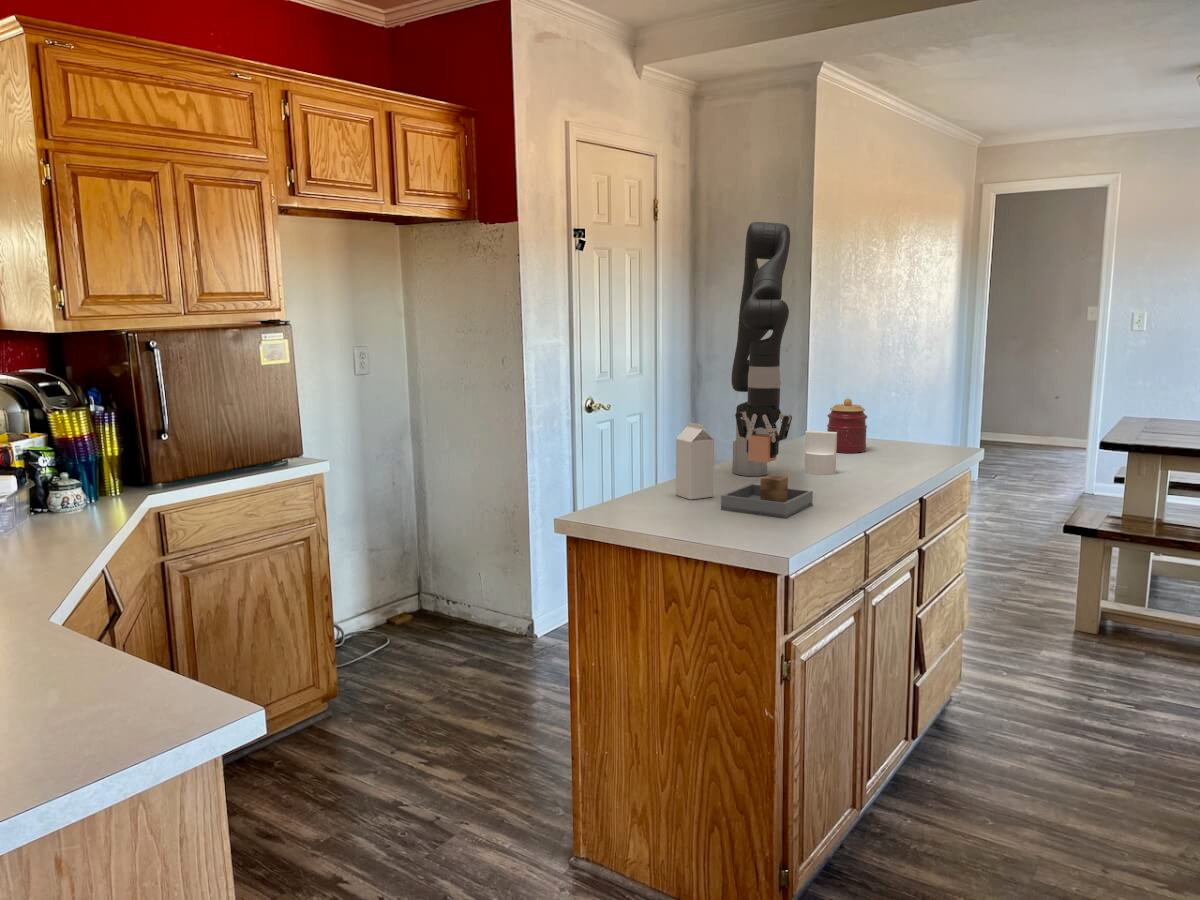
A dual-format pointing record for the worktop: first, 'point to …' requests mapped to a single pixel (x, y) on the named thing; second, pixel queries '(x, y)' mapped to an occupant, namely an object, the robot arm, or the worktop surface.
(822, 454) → the cylinder with rectangular tab
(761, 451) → the terracotta block
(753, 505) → the tray
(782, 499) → the walnut block
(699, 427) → the milk carton
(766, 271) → the robot arm
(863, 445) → the canister
